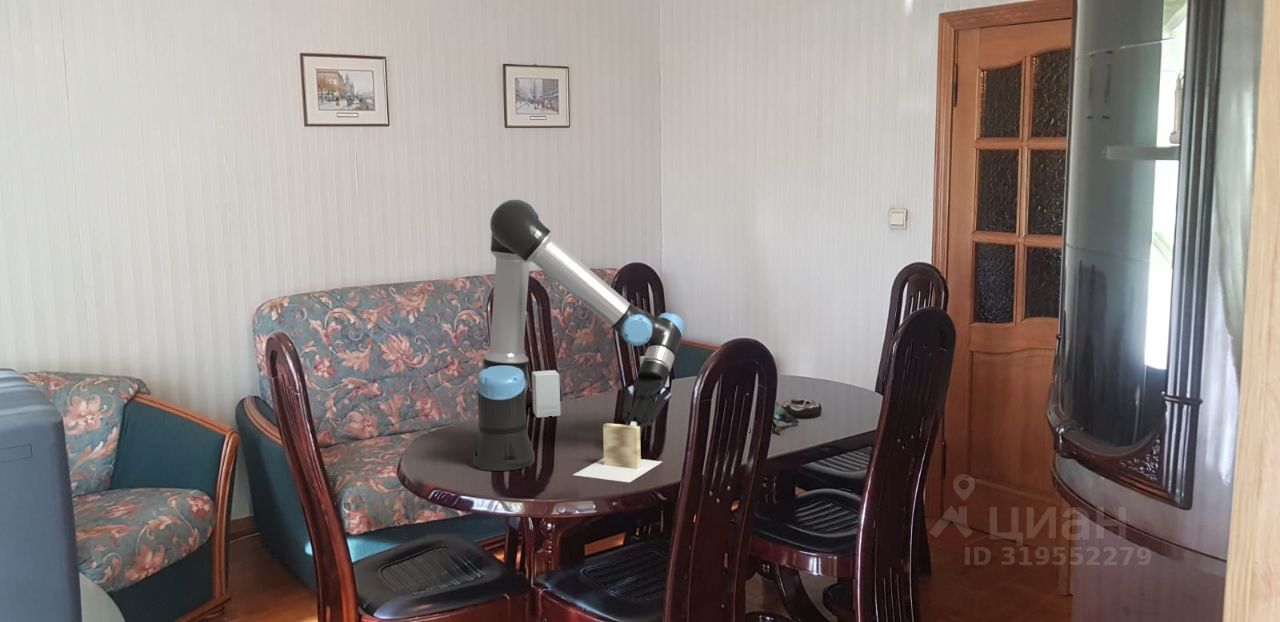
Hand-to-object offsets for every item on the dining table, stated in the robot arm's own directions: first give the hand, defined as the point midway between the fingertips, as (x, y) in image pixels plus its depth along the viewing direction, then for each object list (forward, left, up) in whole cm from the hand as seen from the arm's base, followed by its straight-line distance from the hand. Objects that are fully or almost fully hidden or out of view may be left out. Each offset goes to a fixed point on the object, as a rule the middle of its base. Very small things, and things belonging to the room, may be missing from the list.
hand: (628, 447), depth 250 cm
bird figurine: (+22, +44, -5) cm, 49 cm away
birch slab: (0, -3, -4) cm, 5 cm away
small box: (-33, +84, -5) cm, 90 cm away
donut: (+23, +65, -5) cm, 69 cm away
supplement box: (-47, +38, -5) cm, 60 cm away
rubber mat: (0, -5, -5) cm, 7 cm away
